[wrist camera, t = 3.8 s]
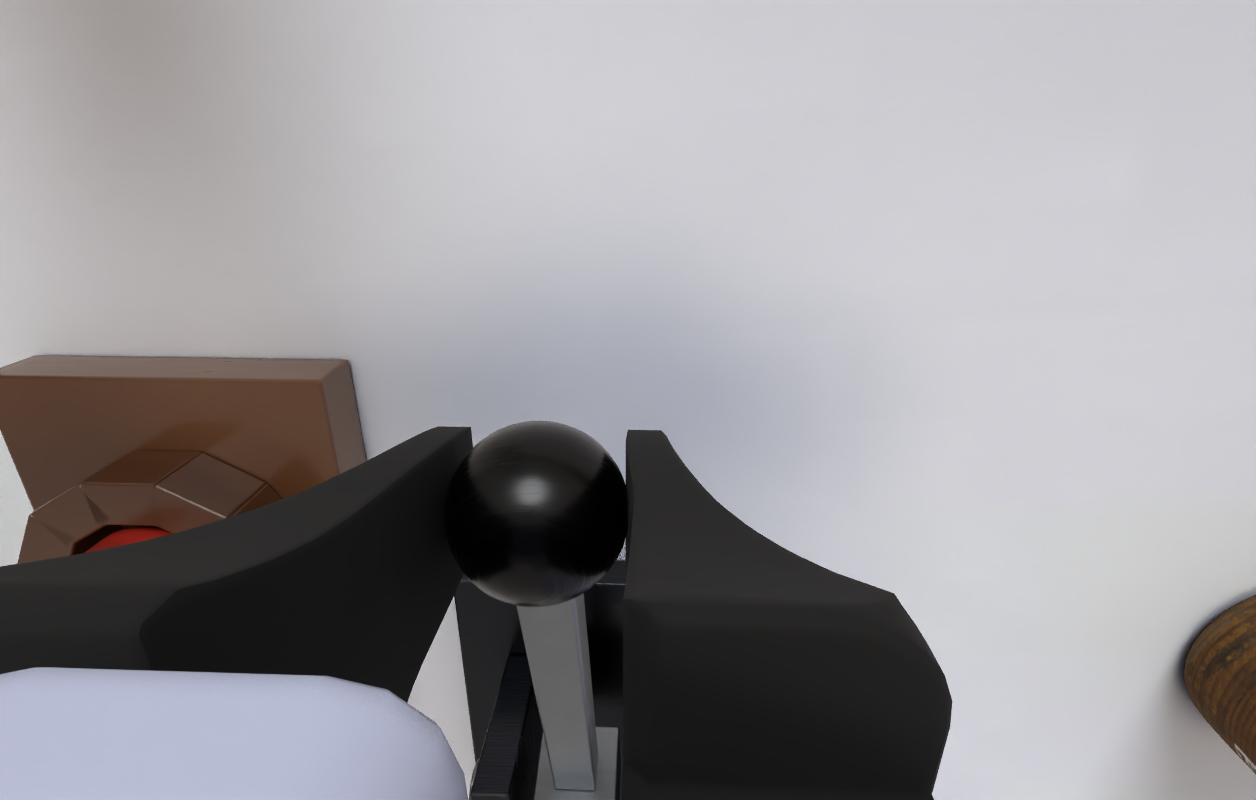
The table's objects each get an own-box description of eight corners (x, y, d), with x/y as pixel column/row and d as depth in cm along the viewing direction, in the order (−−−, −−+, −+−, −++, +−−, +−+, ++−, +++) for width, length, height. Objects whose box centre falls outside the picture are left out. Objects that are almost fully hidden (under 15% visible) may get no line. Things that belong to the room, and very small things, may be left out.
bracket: (462, 555, 20) (393, 708, 15) (717, 561, 20) (741, 720, 14) (488, 776, 24) (440, 962, 18) (702, 784, 24) (716, 974, 18)
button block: (402, 662, 22) (359, 754, 19) (147, 654, 22) (60, 744, 19) (349, 358, 18) (281, 408, 14) (34, 354, 18) (-102, 402, 15)
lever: (454, 382, 11) (398, 521, 8) (631, 385, 11) (624, 526, 8) (539, 752, 20) (524, 866, 18) (634, 755, 20) (631, 870, 18)
